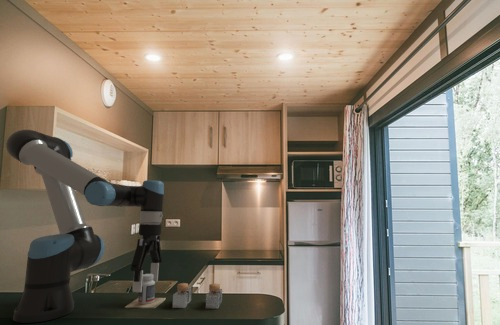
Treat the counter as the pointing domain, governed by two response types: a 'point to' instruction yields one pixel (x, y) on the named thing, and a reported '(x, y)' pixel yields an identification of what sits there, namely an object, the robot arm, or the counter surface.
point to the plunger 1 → (182, 287)
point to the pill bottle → (147, 290)
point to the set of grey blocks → (185, 297)
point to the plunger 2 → (214, 287)
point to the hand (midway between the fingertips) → (145, 286)
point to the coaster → (151, 305)
